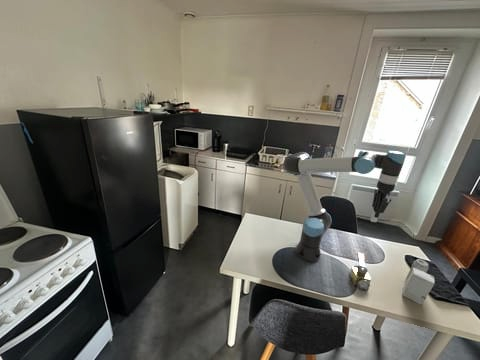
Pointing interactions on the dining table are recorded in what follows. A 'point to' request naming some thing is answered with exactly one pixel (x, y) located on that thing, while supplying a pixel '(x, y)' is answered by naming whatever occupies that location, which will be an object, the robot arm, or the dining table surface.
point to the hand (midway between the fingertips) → (373, 221)
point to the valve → (360, 279)
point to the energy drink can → (419, 266)
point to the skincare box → (418, 286)
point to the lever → (361, 264)
